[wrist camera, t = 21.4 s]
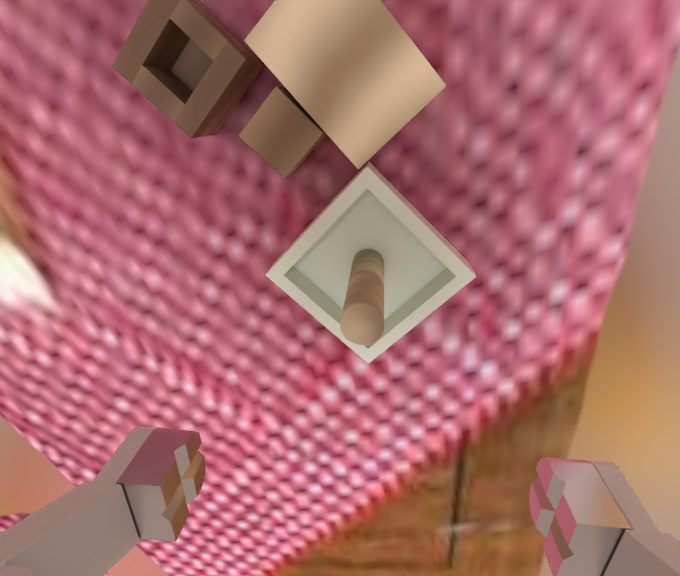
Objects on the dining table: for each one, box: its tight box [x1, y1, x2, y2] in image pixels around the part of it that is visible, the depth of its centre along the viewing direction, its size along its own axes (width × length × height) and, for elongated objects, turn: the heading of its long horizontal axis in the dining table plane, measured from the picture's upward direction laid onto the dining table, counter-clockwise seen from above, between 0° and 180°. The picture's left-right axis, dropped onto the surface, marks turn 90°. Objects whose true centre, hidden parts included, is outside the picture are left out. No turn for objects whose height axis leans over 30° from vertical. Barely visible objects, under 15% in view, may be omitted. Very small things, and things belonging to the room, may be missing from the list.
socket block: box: [112, 0, 264, 138], centre depth 26 cm, size 6×6×4 cm
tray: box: [266, 161, 476, 364], centre depth 30 cm, size 11×11×3 cm
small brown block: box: [239, 86, 326, 179], centre depth 27 cm, size 4×4×3 cm
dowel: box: [340, 249, 384, 345], centre depth 27 cm, size 2×2×10 cm
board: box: [244, 0, 446, 169], centre depth 25 cm, size 10×7×4 cm
